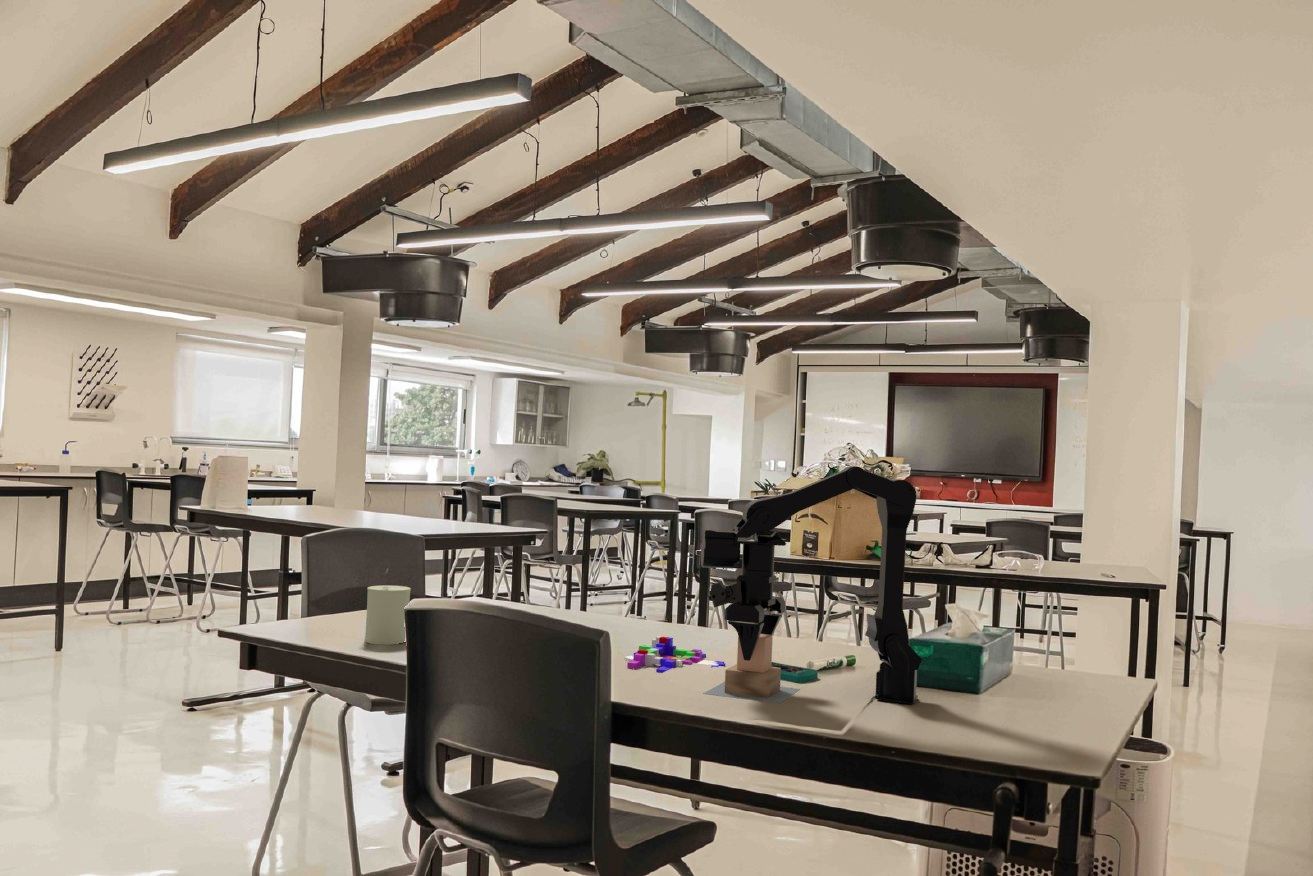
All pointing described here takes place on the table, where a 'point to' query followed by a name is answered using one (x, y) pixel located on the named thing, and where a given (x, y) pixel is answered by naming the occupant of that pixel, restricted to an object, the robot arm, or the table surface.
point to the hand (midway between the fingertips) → (754, 656)
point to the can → (386, 614)
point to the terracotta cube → (757, 655)
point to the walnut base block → (752, 682)
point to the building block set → (667, 656)
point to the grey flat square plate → (775, 698)
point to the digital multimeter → (796, 673)
